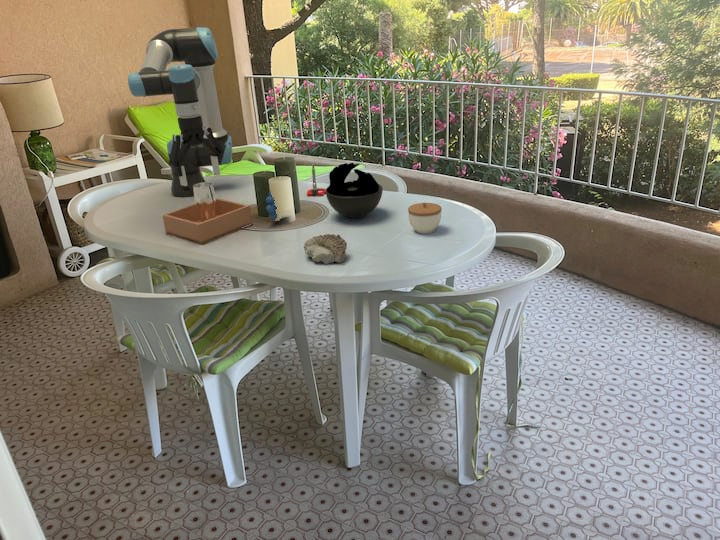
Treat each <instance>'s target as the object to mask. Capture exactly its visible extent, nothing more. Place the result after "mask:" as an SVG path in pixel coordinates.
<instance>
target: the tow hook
mask: <svg viewBox="0 0 720 540" xmlns="http://www.w3.org/2000/svg"><path fill="white" fill-rule="evenodd" d="M311 173H312V188H310V189H308V190H307V193H306V196H307V197H323V196H324V195H326V189H327V188H324V187H323V188H320V187H319V188H318V186H317V180H316V169H315V163H312V164H311Z"/></svg>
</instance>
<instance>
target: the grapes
mask: <svg viewBox="0 0 720 540" xmlns="http://www.w3.org/2000/svg"><path fill="white" fill-rule="evenodd" d="M271 191H272V190H271ZM271 191H269V193H268V195H269V196H267V197H266V199H265V201H266V203H268V204H267V206H266V207H265V209H266V212H267V213H269V214H268V217H269V218H270V219H271V220H272V221H275V219H276V218H277V214H276V211H275V210H276V209H277V207H276V206H275V205H274V204H275V203H274V201H275V200H274V198H273V197H272V195H271Z"/></svg>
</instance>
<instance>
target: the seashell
mask: <svg viewBox="0 0 720 540" xmlns="http://www.w3.org/2000/svg"><path fill="white" fill-rule="evenodd" d="M347 244H348V243H347V241H346V240H345V239H344V238H343V237H342V236H341V235H340V234H337V235H336V234H334V233H332V234H330V233H328V234H327V233H325V234H324V235H321V234H319V235H317V236H315V235H314V236H312V238H308V239H307V240H306V241H305V242H304V246H303V248H304V253H305V254H306V255H307V256H308V257H311V258H312V260H313V262H316V263H320V262H323V263H324V264H325V265H328V264H331V263H332V264H333V263H334V262H336V263H338V264H342V263H343V262H344V261H345V258H346V250H347V246H348V245H347Z"/></svg>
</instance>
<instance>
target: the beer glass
mask: <svg viewBox="0 0 720 540" xmlns="http://www.w3.org/2000/svg"><path fill="white" fill-rule="evenodd" d="M193 190H194V197H193V198H194V202H195V204H196V205H197V208H198V211H199V213H200V216H201V222H204V221H206V220H209V219H212V218H215V217H216V198H217V197H216V193H215V188H214V184H213V182H210V181H205V182H202V183H197V184H195V185H193Z"/></svg>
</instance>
